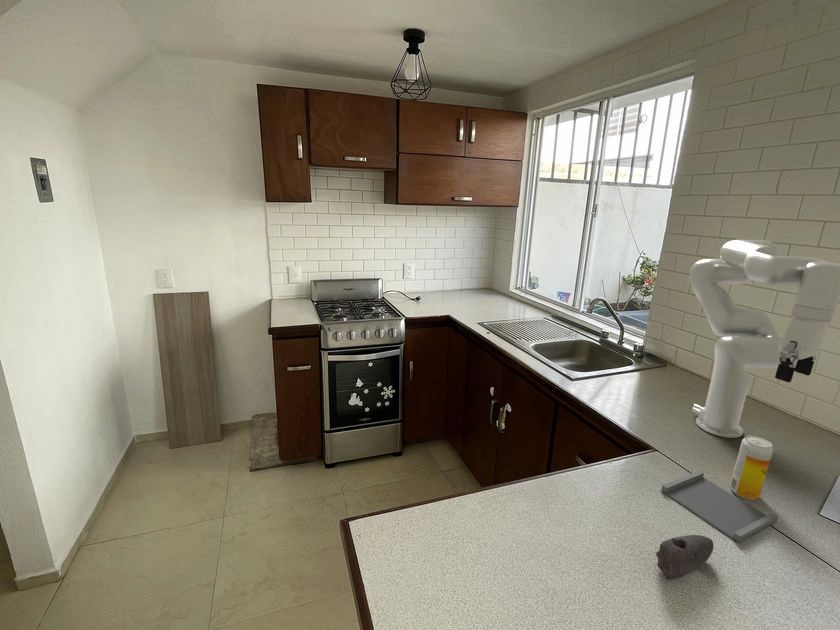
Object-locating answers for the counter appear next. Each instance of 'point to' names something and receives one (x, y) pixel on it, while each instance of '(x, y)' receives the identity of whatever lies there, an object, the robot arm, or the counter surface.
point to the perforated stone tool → (683, 555)
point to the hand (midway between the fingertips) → (792, 376)
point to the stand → (718, 506)
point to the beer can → (751, 467)
